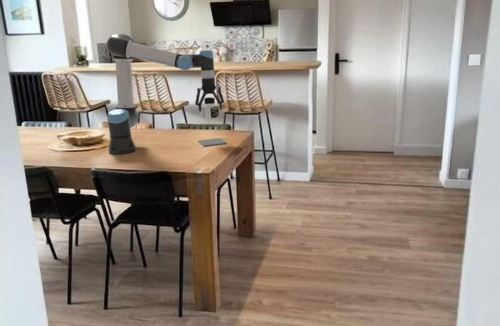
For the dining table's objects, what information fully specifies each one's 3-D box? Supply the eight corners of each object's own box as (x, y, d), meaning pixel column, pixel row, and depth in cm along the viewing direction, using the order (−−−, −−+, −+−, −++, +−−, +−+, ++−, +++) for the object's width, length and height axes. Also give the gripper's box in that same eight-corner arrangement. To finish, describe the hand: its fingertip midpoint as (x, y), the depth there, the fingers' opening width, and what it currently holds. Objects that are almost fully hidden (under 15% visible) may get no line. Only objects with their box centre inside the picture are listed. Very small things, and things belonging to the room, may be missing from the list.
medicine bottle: (211, 119, 262) (209, 98, 259) (202, 118, 266) (200, 98, 263) (219, 117, 268) (218, 97, 264) (210, 116, 272) (208, 96, 268)
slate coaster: (203, 146, 263) (203, 145, 262) (198, 141, 275) (198, 140, 275) (226, 143, 267) (226, 142, 267) (220, 139, 280) (220, 137, 279)
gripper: (190, 79, 254) (193, 118, 260) (228, 76, 260) (230, 115, 267) (187, 78, 260) (190, 116, 267) (224, 75, 267) (226, 113, 273)
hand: (210, 116), depth 267 cm, fingers closed on medicine bottle, 10 cm apart
